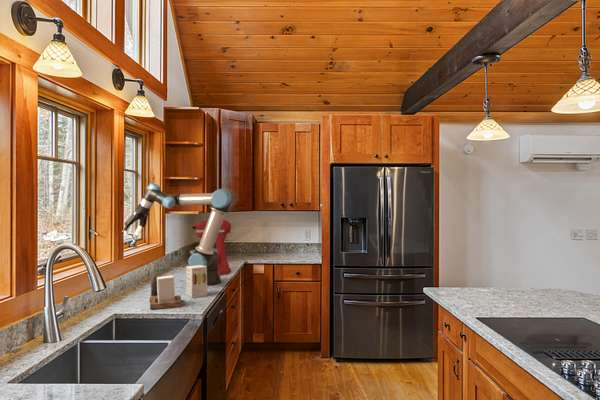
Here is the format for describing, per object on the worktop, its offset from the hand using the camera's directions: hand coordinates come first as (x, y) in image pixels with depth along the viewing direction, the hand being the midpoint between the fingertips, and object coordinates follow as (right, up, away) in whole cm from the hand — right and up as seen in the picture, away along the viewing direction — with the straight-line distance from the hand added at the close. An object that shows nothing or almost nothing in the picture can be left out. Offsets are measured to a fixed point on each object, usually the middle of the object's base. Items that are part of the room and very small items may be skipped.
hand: (129, 235), depth 255 cm
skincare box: (+39, -33, -46) cm, 69 cm away
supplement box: (+50, -33, -26) cm, 65 cm away
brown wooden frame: (+37, -32, -41) cm, 64 cm away
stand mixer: (+43, -33, +44) cm, 70 cm away
